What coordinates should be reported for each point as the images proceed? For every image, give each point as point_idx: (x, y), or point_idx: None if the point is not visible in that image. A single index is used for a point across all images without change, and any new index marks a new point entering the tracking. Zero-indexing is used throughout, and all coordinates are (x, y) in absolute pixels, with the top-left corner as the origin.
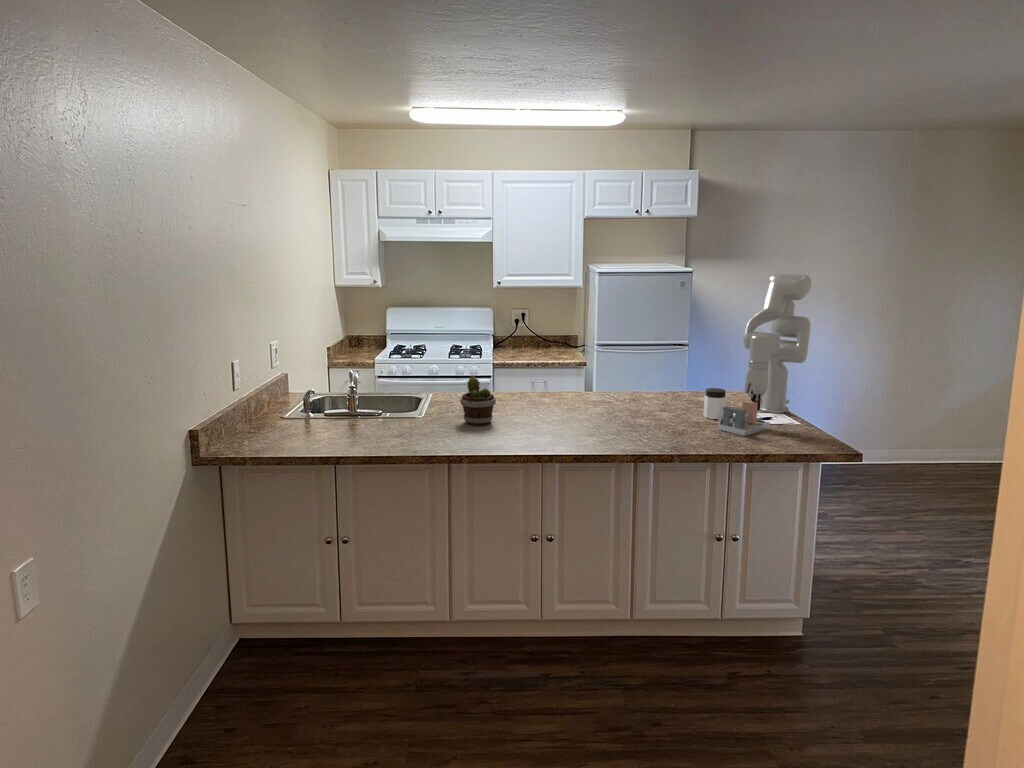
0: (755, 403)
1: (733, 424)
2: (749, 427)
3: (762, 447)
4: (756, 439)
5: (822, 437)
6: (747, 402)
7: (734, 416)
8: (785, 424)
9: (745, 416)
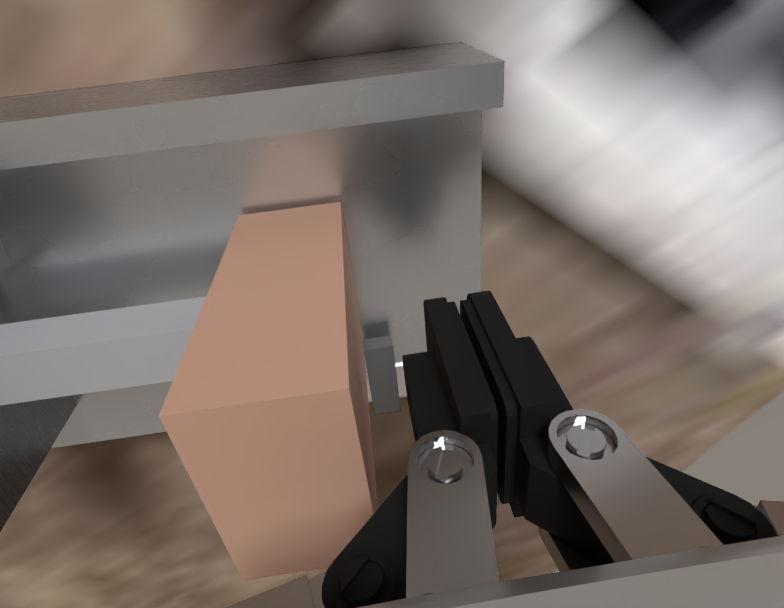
0: (304, 566)
1: (27, 265)
2: (140, 414)
3: (13, 588)
4: (98, 488)
5: (529, 572)
6: (204, 499)
7: (153, 148)
8: (706, 323)
9: (168, 374)
